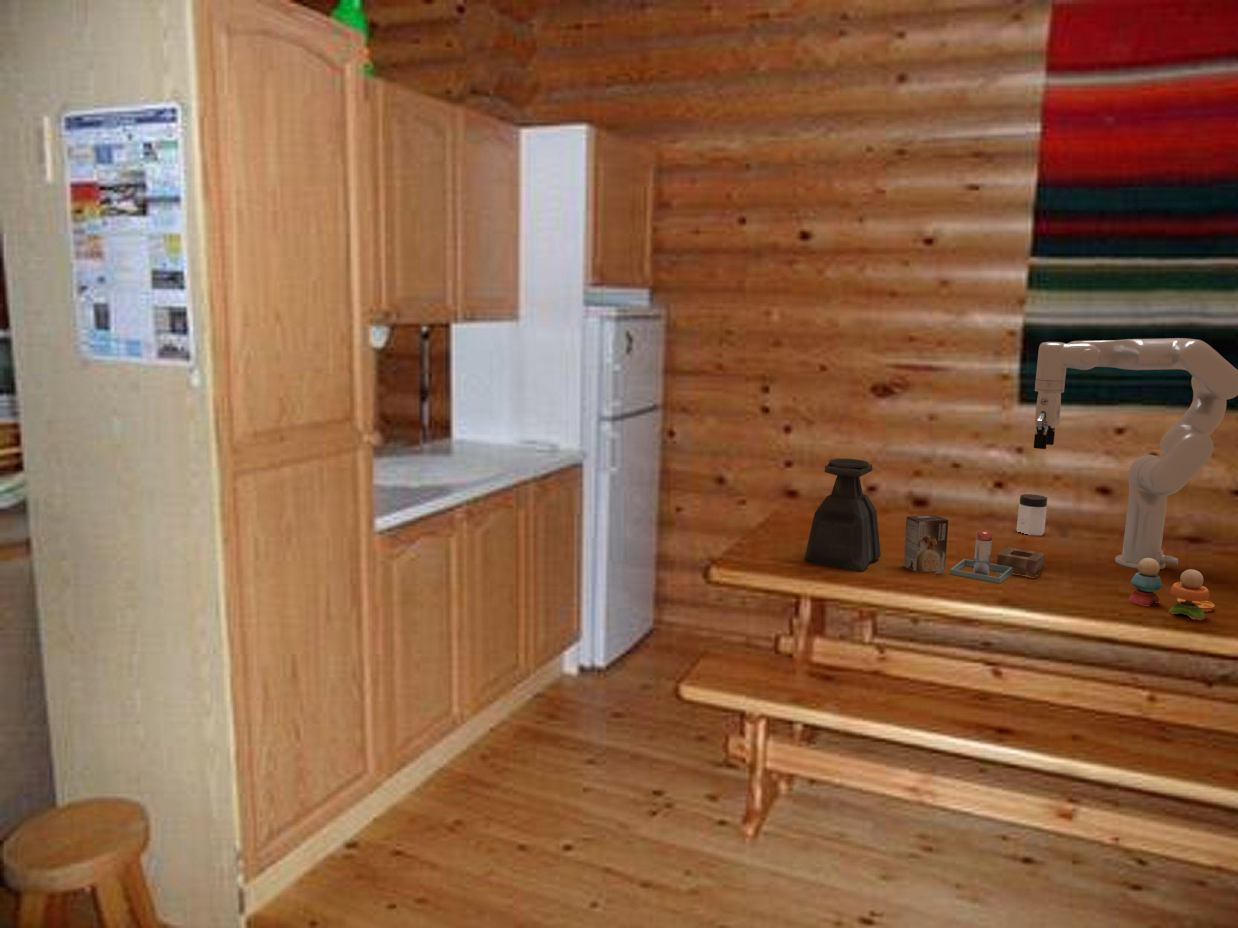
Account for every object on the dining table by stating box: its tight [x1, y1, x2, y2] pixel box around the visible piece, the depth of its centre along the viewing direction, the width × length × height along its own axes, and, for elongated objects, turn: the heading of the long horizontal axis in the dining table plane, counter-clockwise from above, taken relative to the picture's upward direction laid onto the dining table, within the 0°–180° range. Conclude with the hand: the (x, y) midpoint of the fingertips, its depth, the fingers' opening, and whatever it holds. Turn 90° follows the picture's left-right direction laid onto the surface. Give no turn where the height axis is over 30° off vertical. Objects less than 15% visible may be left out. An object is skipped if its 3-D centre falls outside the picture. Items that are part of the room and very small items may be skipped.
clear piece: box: [972, 529, 993, 576], centre depth 255 cm, size 4×4×12 cm
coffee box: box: [903, 514, 949, 575], centre depth 255 cm, size 9×6×16 cm
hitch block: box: [996, 546, 1045, 578], centre depth 262 cm, size 10×10×5 cm
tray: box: [949, 558, 1013, 584], centre depth 255 cm, size 13×13×2 cm
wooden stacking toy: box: [1128, 558, 1216, 618], centre depth 231 cm, size 18×17×12 cm
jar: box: [1016, 493, 1048, 536], centre depth 305 cm, size 9×8×12 cm
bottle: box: [803, 457, 882, 572], centre depth 259 cm, size 18×16×30 cm
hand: (1043, 446), depth 268 cm, fingers open, 9 cm apart
